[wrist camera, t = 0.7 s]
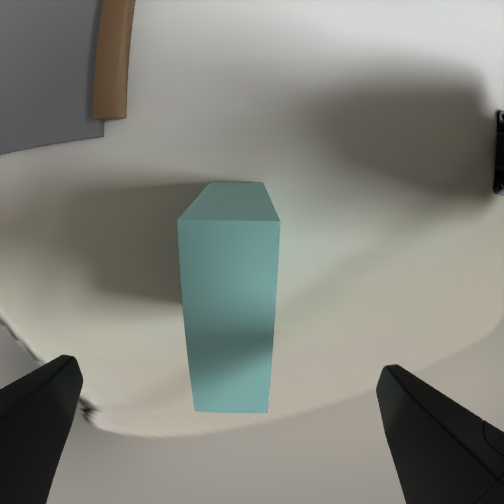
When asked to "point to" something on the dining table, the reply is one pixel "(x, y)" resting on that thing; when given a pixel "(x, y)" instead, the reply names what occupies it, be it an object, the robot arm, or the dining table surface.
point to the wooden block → (112, 60)
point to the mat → (47, 72)
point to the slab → (229, 295)
